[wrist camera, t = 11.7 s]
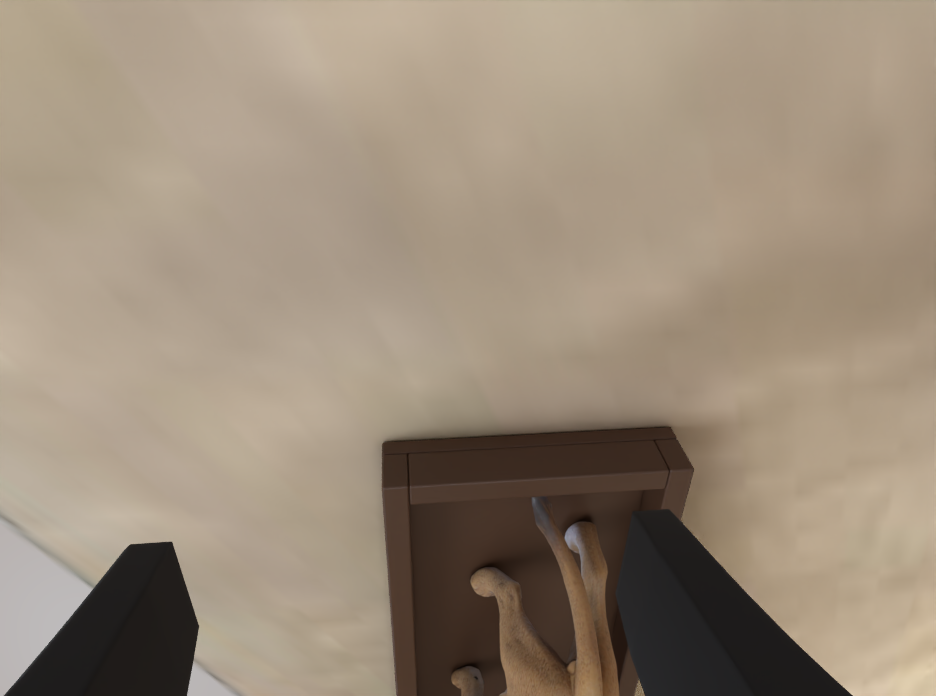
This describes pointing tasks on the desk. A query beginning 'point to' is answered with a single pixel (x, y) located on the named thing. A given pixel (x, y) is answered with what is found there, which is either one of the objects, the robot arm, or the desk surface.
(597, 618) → the lion figurine
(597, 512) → the brown rectangular tray
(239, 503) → the desk surface
